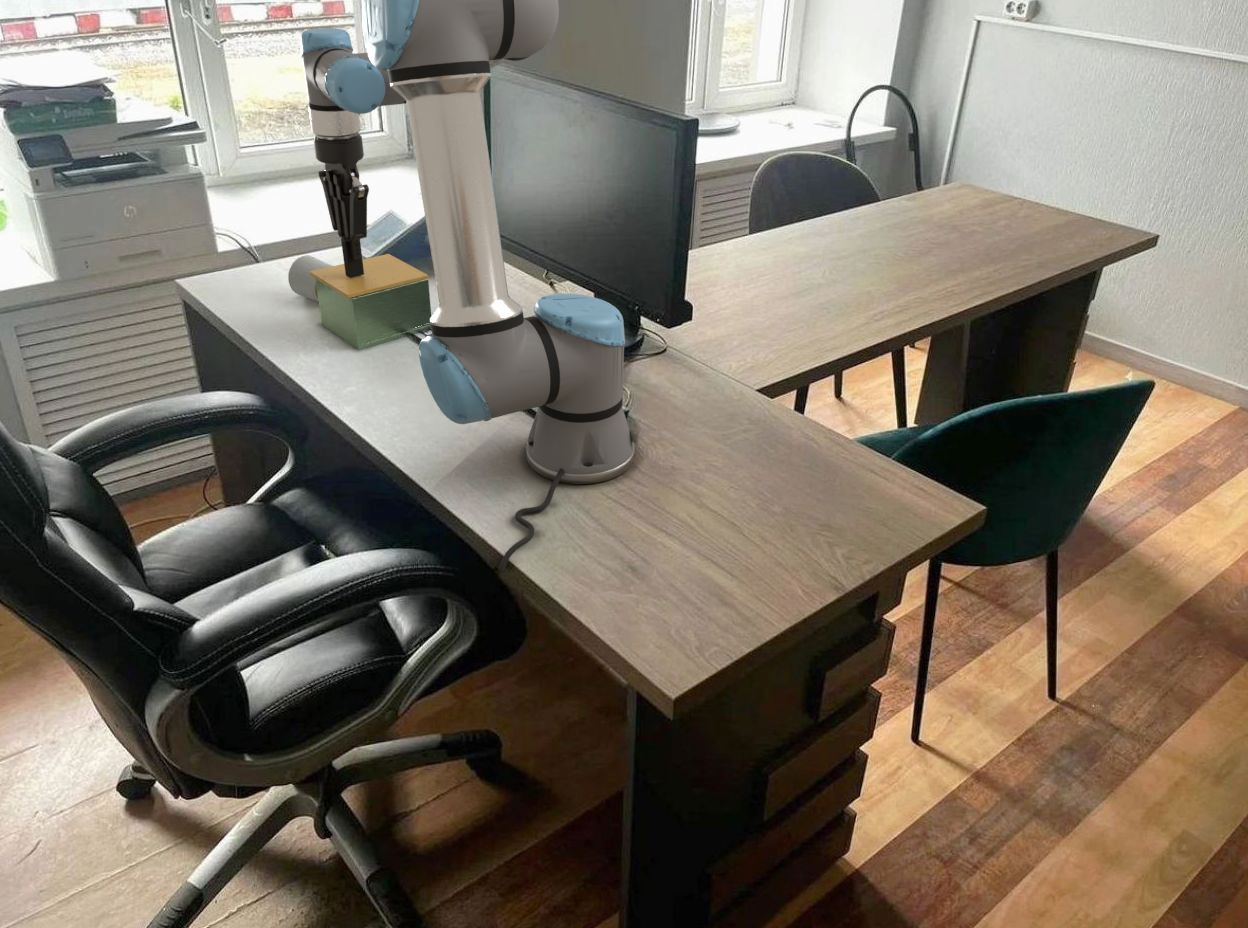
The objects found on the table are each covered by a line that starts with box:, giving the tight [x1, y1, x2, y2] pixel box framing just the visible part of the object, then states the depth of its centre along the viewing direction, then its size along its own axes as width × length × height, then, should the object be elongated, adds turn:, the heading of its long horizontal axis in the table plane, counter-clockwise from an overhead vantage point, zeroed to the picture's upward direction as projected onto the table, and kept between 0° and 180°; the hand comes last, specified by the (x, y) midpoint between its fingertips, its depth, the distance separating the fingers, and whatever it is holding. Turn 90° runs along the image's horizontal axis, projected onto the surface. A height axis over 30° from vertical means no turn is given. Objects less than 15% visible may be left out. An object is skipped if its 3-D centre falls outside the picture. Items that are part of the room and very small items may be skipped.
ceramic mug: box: [287, 254, 333, 303], centre depth 188 cm, size 11×8×8 cm
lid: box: [310, 253, 429, 298], centre depth 174 cm, size 15×14×1 cm
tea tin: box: [315, 278, 432, 351], centre depth 177 cm, size 15×14×9 cm
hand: (354, 274), depth 172 cm, fingers closed
